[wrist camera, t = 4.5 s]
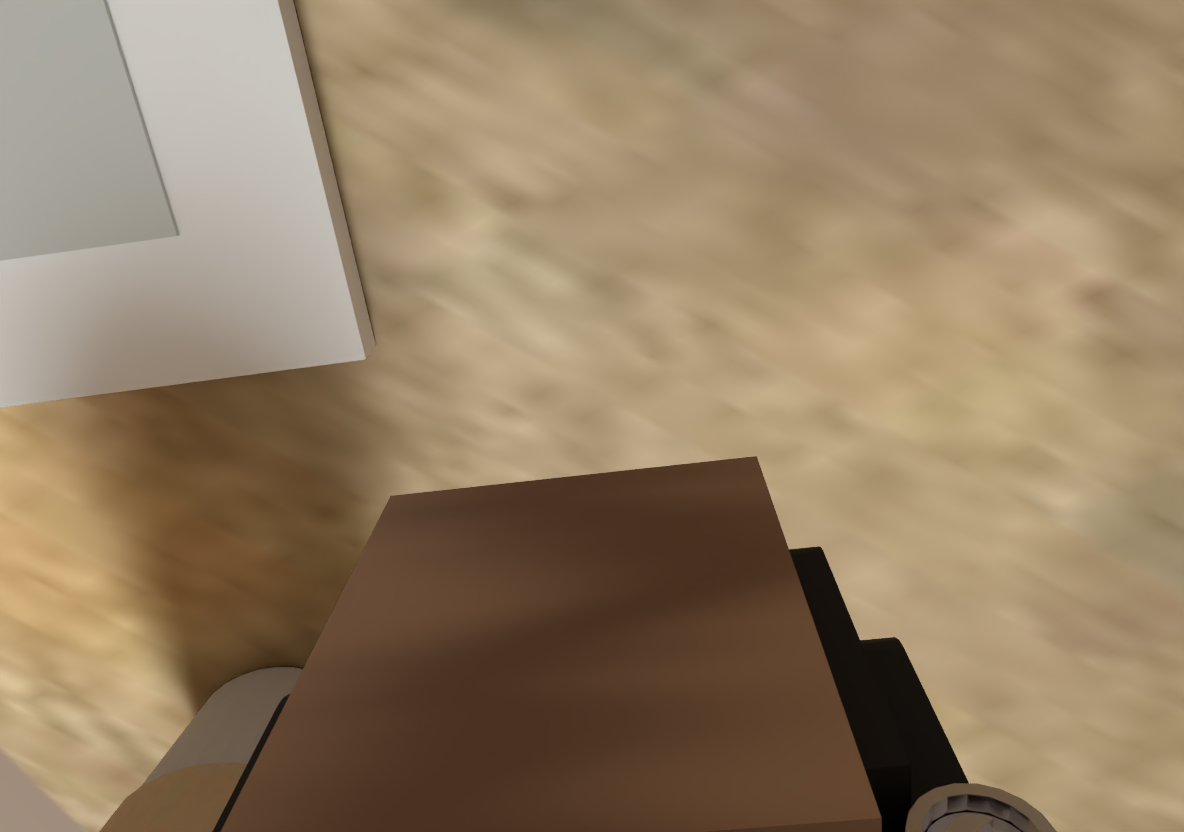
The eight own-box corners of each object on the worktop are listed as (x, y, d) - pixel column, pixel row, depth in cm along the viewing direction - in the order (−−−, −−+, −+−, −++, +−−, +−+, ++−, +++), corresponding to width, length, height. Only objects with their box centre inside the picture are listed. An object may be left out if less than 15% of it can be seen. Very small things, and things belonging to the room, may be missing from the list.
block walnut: (756, 456, 12) (882, 818, 6) (776, 748, 14) (886, 1224, 8) (391, 496, 12) (200, 868, 7) (458, 774, 14) (356, 1248, 8)
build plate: (228, -274, 19) (202, -297, 18) (375, 345, 24) (364, 361, 23) (-390, -172, 20) (-456, -187, 18) (-113, 409, 25) (-150, 429, 24)
